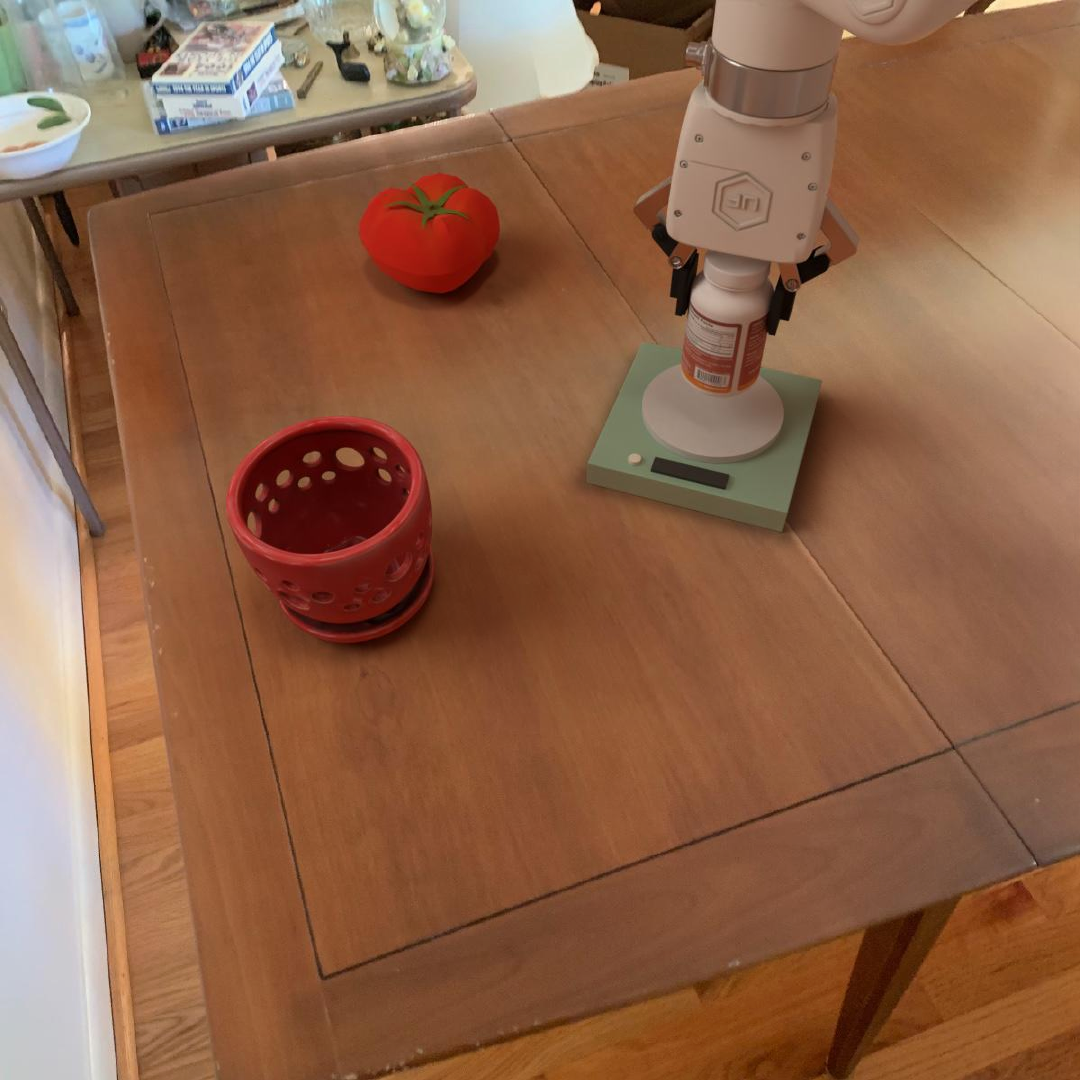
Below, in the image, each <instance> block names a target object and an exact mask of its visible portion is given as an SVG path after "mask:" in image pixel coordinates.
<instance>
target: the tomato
mask: <svg viewBox="0 0 1080 1080" xmlns="http://www.w3.org/2000/svg"><path fill="white" fill-rule="evenodd" d="M408 183H409V185H410V186H409V187H407V189H403V188H397V187H393V186H390V187H387V188H385V189H384V190H382V191H380V192H378V194H376V195H375V196H374V197H373V198H372V199H370V201H369V203H368V205H367V207H366V209H365V211H364V214H362V217H361V220H360V222H359V223H358V224H359V225H358V236H359V239H360V242H361V245H362V247H364V249H365V250H366V253H368V255H369V257H370V258H371V260H372V262H373V263H374V265H375V266H376V267H377V268H378V270H380V272H381V273H383V274H384V275H385V276H387V277H389V278H390V279H392V280H393V281H395V282H396V283H398V284H399V285H402V286H404V287H406V288H410V289H412V290H414V291H420V292H426V293H427V292H428V293H435V294H446V293H448V292H452V291H455V290H457V289H458V288H459V287H461V286H462V285H464V284H465V283H467V282H468V280H470V279H471V277H473V276H474V275H475V274H476V273H477V272H478V271H479V269H480V268H481V266H482V264H483V263H484V262H486V261H487V260H488V259H489V258H490V257H491V256H492V253H493V252H494V249H495V247H496V245H497V243H498V241H499V239H500V232H501V225H500V217H499V213H498V210H497V206H496V205H495V204H494V202H493V201H492V199H490V197H489V196H487V195H486V194H485V193H483V192H481V191H480V190H478V189H476V188H472V187H469V186H468V185H469V184H466V182H465V181H464V180H462V179H461V178H460V177H458V176H456V175H453V174H447V173H443V172H437V173H434V174H433V173H432V174H428V175H424V176H421V177H420V178H419V179H417V180H416V181H415V182H414V183H412V182H410V181H408Z"/></svg>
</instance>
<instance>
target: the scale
mask: <svg viewBox="0 0 1080 1080" xmlns="http://www.w3.org/2000/svg"><path fill="white" fill-rule="evenodd" d="M682 353H683V349H680V348H675V347H671V346H666V345H663V344H658V343H653V342H648V341H642V342H641V344H640V346H639V348H638V351H637V352H636V355H635V357H634V360H633V362H632V364H631V366H630V368H629V370H628V373H627V374H626V377H625V380H624V382H623V384H622V386H621V388H620V390H619V392H618V395H617V397H616V399H615V401H614V404H613V405H612V408H611V410H610V412H609V415H608V417H607V418H606V421H605V423H604V426H603V428H602V430H601V432H600V435H599V437H598V439H597V441H596V442H595V445H594V448H593V450H592V452H591V455H590V457H589V458H588V461H587V465H586V483H587V484H589V485H593V486H597V487H600V488H604V489H609V490H613V491H616V492H621V493H625V494H629V495H633V496H636V497H639V498H645V499H649V500H652V501H657V502H659V503H665V504H668V505H671V506H676V507H679V508H684V509H688V510H692V511H696V512H700V513H703V514H708V515H712V516H715V517H719V518H723V519H728V520H732V521H736V522H738V523H743V524H745V525H746V524H747V525H751V526H755V527H759V528H763V529H766V530H770V531H775V532H778V533H783V532H784V528H785V524H786V522H787V517H788V514H789V510H790V506H791V502H792V499H793V494H794V491H795V487H796V483H797V479H798V476H799V471H800V467H801V464H802V461H803V457H804V453H805V448H806V445H807V442H808V437H809V433H810V429H811V426H812V422H813V418H814V414H815V410H816V407H817V402H818V399H819V395H820V392H821V388H822V384H823V380H822V379H819V378H814V377H810V376H805V375H801V374H795V373H791V372H787V371H783V370H777V369H772V368H767V367H763V366H761V368H760V373H759V376H758V379H757V381H756V383H755V384H754V385H753V386H752V387H751V388H750V389H749V390H747V391H746V392H744V393H742V394H739V395H736V396H732V397H723V398H720V397H713V396H708V395H705V394H703V393H700V392H698V391H697V390H695V389H693V388H692V387H691V386H690V385H689V384H688V383H687V382H686V381H685V379H684V377H683V375H682V371H681V362H682Z"/></svg>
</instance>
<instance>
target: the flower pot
mask: <svg viewBox="0 0 1080 1080" xmlns="http://www.w3.org/2000/svg"><path fill="white" fill-rule="evenodd" d="M374 448H376V449H378V450H380V451H382V452H383V453H384V454H385V457H386V458H384V457H381V456H379V455H378V454H377V453H376V451H375V449H374ZM341 449H352V450H353V451H356V452H357V453H358V454H359V455H360V456H361V457H362V459H363V464H361V465H357V466H353V465H348V464H344V463H342V462H341V461H340V460H339V458H338V457H337V452H338V451H339V450H341ZM314 452H317V453H319V457H318V458H317V459H316V460H313V461H311V462H309V461H308V462H307V461H304V458H305V457H306V455H308V454H311V453H314ZM419 454H420V453H418V451H417V450H416V448H415V447H414V446H413V444H412V443H411V442H410V440H408V439H407V438H406V437H405V436H404V435H403V434H402V433H400V432H399V431H398V430H396V429H394V428H393V427H391V426H389V425H388V424H385V423H383V422H381V421H378V420H375V419H371V418H368V417H367V418H366V417H363V416H362V417H361V416H355V415H354V416H353V415H329V416H321V417H316V418H311V419H308V420H304V421H301V422H297V423H295V424H292V425H290V426H288V427H285V428H283V429H282V430H279V431H278V432H275V433H274V434H273V435H271V436H269V437H268V438H266V439H265V440H263V441H262V442H260V443H259V444H258V445H257V446H255V447H254V448H253V449H252V450H251V451H250V452H248V453H247V455H246V456H244V458H243V459H242V460H241V462H240V463H239V464H238V466H237V468H236V469H235V471H234V473H233V474H232V477H231V478H230V481H229V484H228V488H227V491H226V498H225V511H226V516H227V520H228V523H229V526H230V529H231V531H232V533H233V535H234V538H235V540H236V543H237V544H238V546H239V549H240V550H241V552H242V554H243V556H244V557H245V559H246V562H247V563H248V565H249V566H250V567H251V569H252V571H253V572H254V573H255V574H256V575H257V577H258V578H259V580H260V581H261V582H262V584H263V585H264V586H265V588H266V589H267V590H268V591H269V592H270V593H271V594H272V595H273V596H274V597H275V598H276V599H277V600H278V603H279V605H280V608H281V610H282V611H283V613H284V614H285V616H286V618H287V619H288V621H290V622H291V623H292V624H293V625H294V626H295V627H296V628H298V629H299V630H301V631H302V632H303V633H305V634H308V635H309V636H312V637H315V638H316V639H319V640H323V641H327V642H331V643H341V644H353V643H361V642H366V641H369V640H370V641H371V640H374V639H378V638H381V637H383V636H385V635H387V634H390V633H391V632H393V631H395V630H398V628H400V627H401V626H403V625H404V624H405V623H407V622H408V621H409V620H411V618H413V616H415V614H416V613H418V611H419V610H420V609H421V607H422V606H423V604H424V603H425V601H426V600H427V598H428V596H429V594H430V592H431V589H432V585H433V583H434V579H435V571H436V570H435V567H436V566H435V558H434V553H433V550H432V547H431V546H432V545H431V543H432V535H433V508H432V500H431V492H430V486H429V480H428V476H427V473H426V470H425V466H424V463H423V460H422V458H421V457H420V455H419ZM380 470H383V471H385V472H387V473H388V475H389V476H390V481H388V480H386V479H384V478H383V477H382V476H381V473H380ZM284 471H288V478H287V480H285V481H284V482H283V483H281V484H280V485H279V484H278V481H277V480H278V478H279V476H280V475H281V473H283V472H284ZM328 472H331V473H334V476H333V478H331V479H325V478H323V475H324V474H326V473H328ZM303 478H309V480H308V483H307V484H306V485H304V486H299V482H300V480H302V479H303ZM260 485H262V489H261V492H260V494H259V496H256V495H257V494H256V493H257V490H258V488H259V486H260ZM272 500H273V502H274V503H273V506H272V508H271V509H270V503H271V501H272ZM251 513H252V515H253V518H254V526H255V527H254V533H253V532H252V531H251V529H250V528H249V525H248V522H249V516H250V514H251Z"/></svg>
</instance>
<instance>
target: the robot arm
mask: <svg viewBox="0 0 1080 1080" xmlns="http://www.w3.org/2000/svg"><path fill="white" fill-rule="evenodd" d="M978 1H979V0H715V8H714V16H713V22H712V23H713V24H712V30H711V31H712V32H711V36H709V37H708V38H707V41H705V40H702V41H701V42H700V43H699V42H694V41H689V42H688V44H687V46H686V51H685V57H684V65H685V67H686V66H687V67H692V68H693V67H694V68H695V69H696V70H698V71H701V77H703V79H702V80H700V81H699V83H698V84H697V85H696V87H694V89H693V90H692V92H691V95H690V98H689V102H688V104H687V106H686V107H687V108H686V109H685V113H684V117H683V122H682V126H681V129H680V134H679V139H678V144H677V148H676V155H675V160H674V164H673V170H672V174H671V175H669V176H667V178H665V179H664V180H662V181H660V182H659V183H657V184H656V185H655V186H653V187H652V188H650V189H649V190H647V191H646V192H645V193H643V194H642V195H640V196H639V197H638V198H637V200H636V203H635V205H634V206H633V214H634V215H635V216H636V218H638V220H639V222H641V224H642V225H643V226H644V227H645V229H646V230H648V231H649V232H650V233H651V238H652V240H653V241H654V242H655V243H656V245H657V246H658V247H659V248H660V249H661V251H662V252H663V253H664V254H665V255H666V257H667V258H668V259H667V263H668V265H669V266H670V267H671V268H672V272H671V280H670V290H669V298H673V299H676V302H675V309H674V310H675V311H674V315H675V316H678V317H683V316H685V315H687V312H688V303H689V295H690V289H691V285H692V282H693V280H694V278H695V277H696V276H697V275H698V266H699V258H700V253H699V252H698V249H701V250H705V251H706V250H711V251H716V252H721V253H726V254H731V255H736V256H742V257H747V258H752V259H758V260H763V261H769V262H771V263H775V264H777V266H778V269H779V276H778V279H777V283H776V285H775V287H774V295H773V300H772V305H771V310H770V314H769V319H768V324H767V329H766V332H768V333H767V336H773V337H775V336H776V335H777V332H778V328H779V325H780V322H781V321H784V322H789V321H790V319H791V316H792V313H793V309H794V305H795V300H796V296H797V293H798V292H797V291H799V290H800V289H801V286H802V285H804V284H806V283H808V282H809V281H811V280H813V279H815V278H817V277H819V276H821V275H822V274H824V273H826V272H827V271H829V268H831V267H833V266H837V265H838V264H840V263H841V262H843V261H844V262H845V260H848V259H849V258H851V257H852V256H854V255H855V254H856V253H857V252H858V247H859V244H860V237H859V236H858V234H857V232H856V231H855V230H854V229H853V227H852V226H851V225H850V223H849V222H848V220H847V219H846V218H845V216H844V215H843V214H842V212H841V211H840V210H839V208H838V207H837V206H836V204H835V203H834V202H833V200H832V199H831V198H830V196H829V192H830V187H831V181H832V176H833V168H834V162H835V155H836V147H837V137H838V119H839V118H838V117H839V116H838V113H839V112H838V111H839V107H838V106H839V105H838V104H839V103H838V98H837V96H836V95H835V93H833V92H832V91H831V89H832V86H833V80H834V76H835V71H836V66H837V62H838V57H839V53H840V47H841V43H842V39H843V34H844V31H846V32H847V33H849V34H851V35H853V36H854V37H857V38H858V39H861V40H862V41H866V42H869V43H871V44H874V45H879V46H880V45H881V46H889V47H894V46H904V45H908V44H912V43H915V42H919V41H920V40H923V39H925V38H927V37H928V36H930V35H932V34H934V33H935V32H937V31H938V30H940V29H941V28H942V27H944V26H945V25H946V24H948V23H949V22H951V21H953V19H955V18H957V17H958V16H959V15H961V14H962V13H964V12H965V11H966V10H969V8H970V7H972V6H973V5H974V4H975V3H976V4H977V2H978ZM666 206H667V208H666V209H667V210H666V212H665V211H664V209H663V208H664V207H666ZM820 230H821V232H822V233H823V234H824V236H825V237H826V238H827V239H828V242H827V243H826V244H825V245H824V244H823V245H819V246H817V247H815V246H816V243H817V240H818V237H819V235H820Z"/></svg>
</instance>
